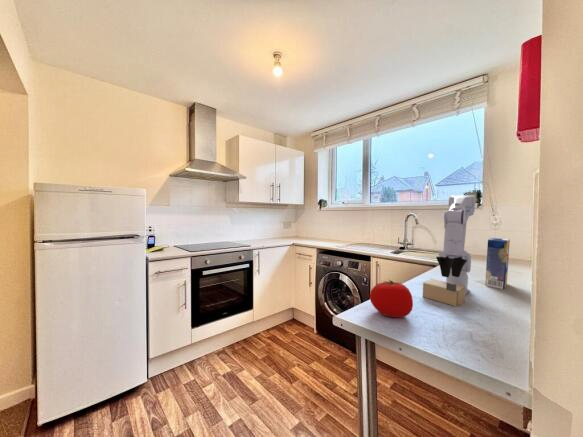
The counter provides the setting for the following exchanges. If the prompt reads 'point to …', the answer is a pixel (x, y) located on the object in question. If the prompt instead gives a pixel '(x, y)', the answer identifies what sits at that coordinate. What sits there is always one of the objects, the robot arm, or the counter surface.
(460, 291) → the carton
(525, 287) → the counter surface
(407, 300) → the tomato
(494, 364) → the counter surface
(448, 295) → the carton flap
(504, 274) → the beverage box
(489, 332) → the counter surface
